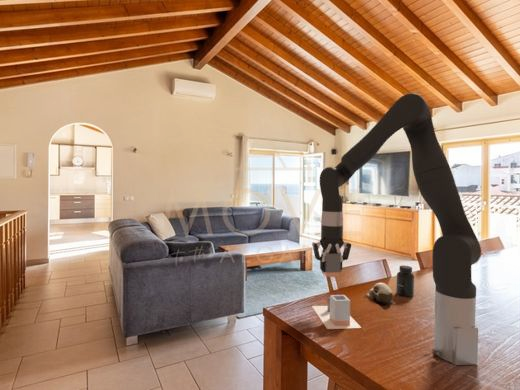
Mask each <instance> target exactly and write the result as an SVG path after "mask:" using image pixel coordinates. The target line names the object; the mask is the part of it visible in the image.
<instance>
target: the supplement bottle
mask: <svg viewBox="0 0 520 390" xmlns="http://www.w3.org/2000/svg"><path fill="white" fill-rule="evenodd" d="M412 272H413V267H411V266H409V265H404V264H403V265H400V266H399V270H398V272H397V273H396V285H395V288H396V289H395V292H396V294H397V295H398V296H400V297H404V298H411V297H414V295H415V293H414V292H415V275H414V274H413V273H412Z"/></svg>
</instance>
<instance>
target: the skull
mask: <svg viewBox="0 0 520 390" xmlns="http://www.w3.org/2000/svg"><path fill="white" fill-rule="evenodd" d="M393 297H394V293H393V290H392V289H391V288H390V286H389V285H388V284H386V283H384V282H377V283H375V284H374V285H373V286H372V287H371V288H370V289H369V290H368V292H367V294H365V295H364V296H363V299H370V300H371V301H372V302H374V303H376V304H377V305H378V306H379V307H380V308H384V307H386V306H388V305H389V306H390V305H396V304H397V302H396V301H395V300H394V299H393Z"/></svg>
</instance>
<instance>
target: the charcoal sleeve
mask: <svg viewBox="0 0 520 390" xmlns="http://www.w3.org/2000/svg"><path fill="white" fill-rule="evenodd" d="M341 254H342V253H341ZM341 254H340V253H333V252H332V253H327V254H326V259H325V272H322V271H321V273H322V274H323V275H324V276H325V277H326V278H331V277H333V278H338V277H341V272H340V264H341Z"/></svg>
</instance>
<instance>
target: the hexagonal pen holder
mask: <svg viewBox="0 0 520 390" xmlns="http://www.w3.org/2000/svg"><path fill="white" fill-rule="evenodd" d="M329 297H330V320H331V321H332V323H333V324H334V325H335V326H340V325H350V316H351V299H349V298H348V297H347V296H346V295H345V294H330V295H329Z"/></svg>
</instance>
